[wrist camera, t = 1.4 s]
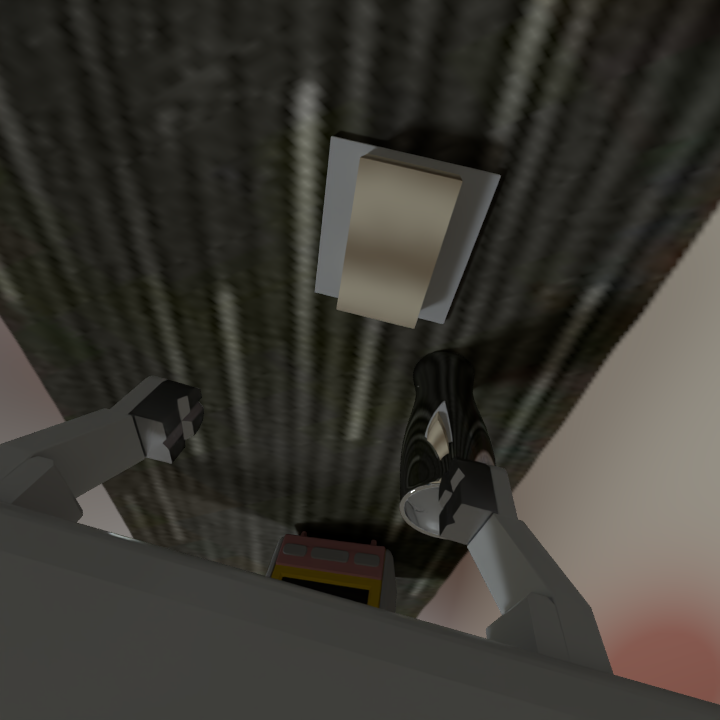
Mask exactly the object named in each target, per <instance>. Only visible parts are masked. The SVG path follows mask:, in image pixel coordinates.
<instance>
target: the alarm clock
mask: <svg viewBox="0 0 720 720" xmlns="http://www.w3.org/2000/svg"><path fill="white" fill-rule="evenodd" d="M306 536H307V532H305V531H303V532H302V533H301V535H300V536H298V535H290V534H286V535H285V536H284V537H282V538H281V539H280V540H279V542H278V544H277V547H276V550H275V552H274V555H273V558H272V561H271V563H270V566H269V569H268V571H267V574H266V576H267V577H271V578H274V579H278V580H281V581H285V582H288V583H292V584H295V585H299V586H302V587H306V588H309V589H313V590H316V591H320V592H324V593H327V594H331V595H334V596H338V597H341V598H345V599H348V600H352V601H355V602H359V603H362V604H366V605H369V606H373V607H376V608H380V609H383V610H387V611H391V612H394V613H395V610H396V596H397V589H396V580H395V571H394V562H393V556H392V554H391V551H389V550H388V549H385V547H384V546H376V540H372V541H371V544H370V545H368V544H361V543H353V542H345V541H337V540H329V539H322V538H314V537H306Z"/></svg>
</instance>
